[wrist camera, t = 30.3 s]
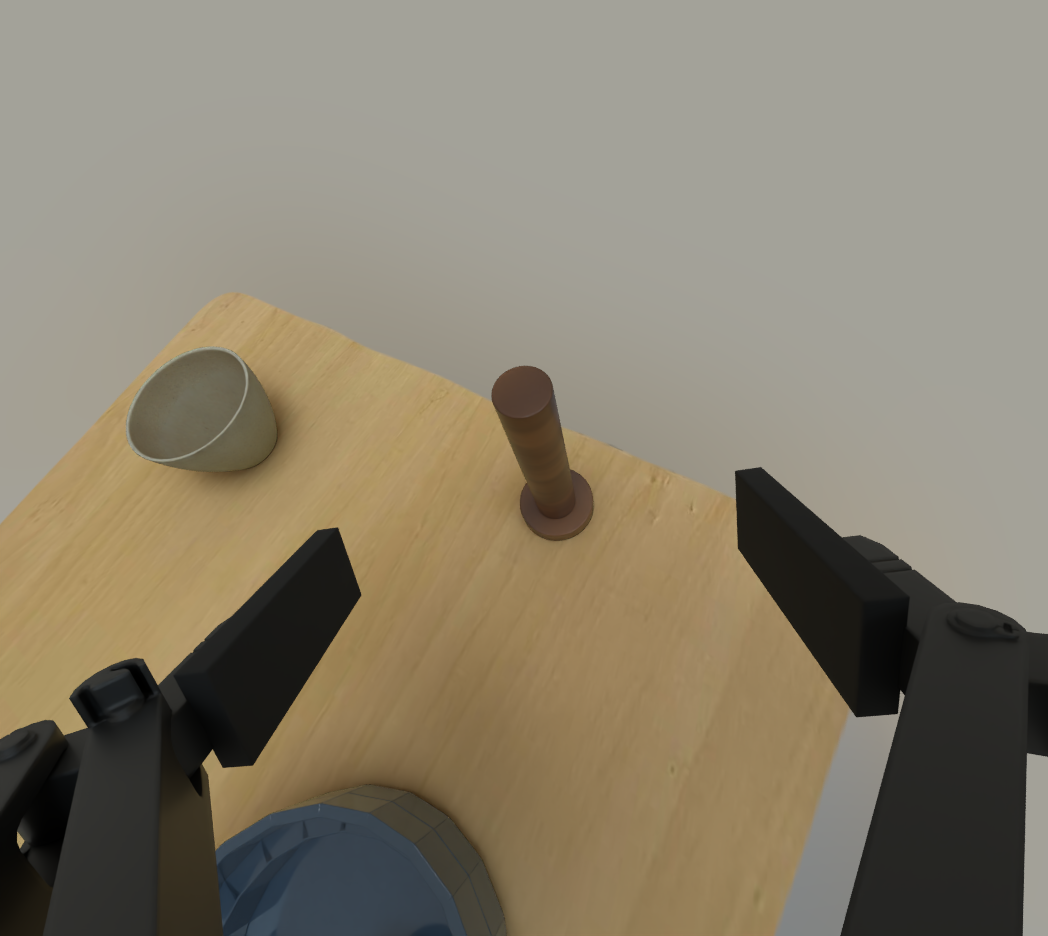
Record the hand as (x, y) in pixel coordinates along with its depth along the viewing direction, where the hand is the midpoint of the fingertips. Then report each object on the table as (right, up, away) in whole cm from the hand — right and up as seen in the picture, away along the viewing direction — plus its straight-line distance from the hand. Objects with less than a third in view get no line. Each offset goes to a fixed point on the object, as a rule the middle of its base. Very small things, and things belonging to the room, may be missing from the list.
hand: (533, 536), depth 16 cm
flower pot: (-24, +4, +27) cm, 36 cm away
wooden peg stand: (+2, -1, +19) cm, 19 cm away
